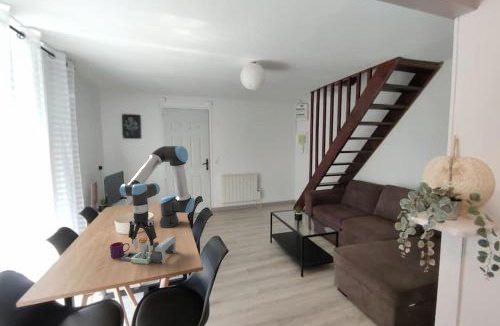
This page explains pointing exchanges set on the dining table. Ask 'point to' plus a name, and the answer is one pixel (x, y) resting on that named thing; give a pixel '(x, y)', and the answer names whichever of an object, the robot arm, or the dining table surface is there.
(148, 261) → the tray
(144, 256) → the stop pin
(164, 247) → the grey angle bracket
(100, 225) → the dining table surface
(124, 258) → the pin socket
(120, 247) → the mug
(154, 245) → the chock
